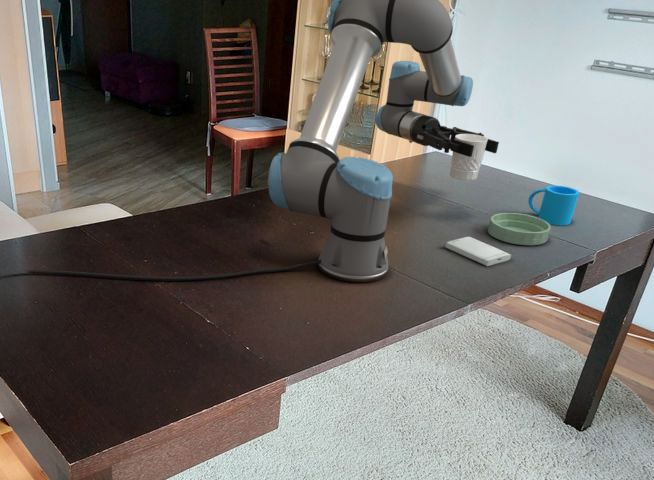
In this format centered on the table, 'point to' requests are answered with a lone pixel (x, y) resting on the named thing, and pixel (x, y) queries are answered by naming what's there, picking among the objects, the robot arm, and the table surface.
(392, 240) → the table surface
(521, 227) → the bowl
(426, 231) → the table surface
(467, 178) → the white cup
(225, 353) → the table surface
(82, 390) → the table surface
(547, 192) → the mug
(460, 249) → the hard drive
